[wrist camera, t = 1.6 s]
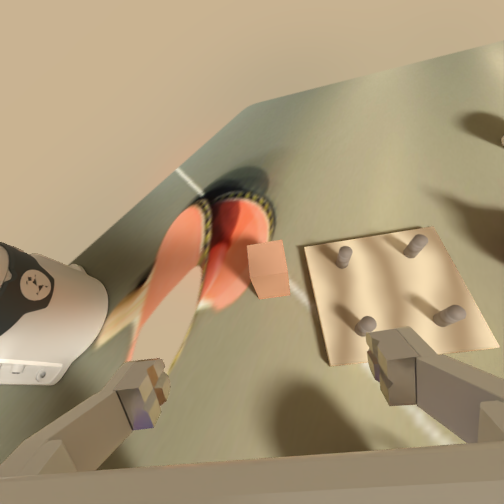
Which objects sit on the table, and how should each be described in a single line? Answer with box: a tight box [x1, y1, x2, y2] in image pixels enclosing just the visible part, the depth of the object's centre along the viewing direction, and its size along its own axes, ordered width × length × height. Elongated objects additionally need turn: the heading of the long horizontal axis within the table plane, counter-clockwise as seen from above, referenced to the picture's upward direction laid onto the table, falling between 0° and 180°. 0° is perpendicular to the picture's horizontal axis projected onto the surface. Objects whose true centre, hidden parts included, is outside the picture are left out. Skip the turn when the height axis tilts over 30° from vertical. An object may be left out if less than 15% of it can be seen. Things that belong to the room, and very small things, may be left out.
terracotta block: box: [247, 240, 290, 299], centre depth 33 cm, size 4×4×8 cm
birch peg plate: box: [304, 226, 500, 366], centre depth 31 cm, size 18×16×5 cm
